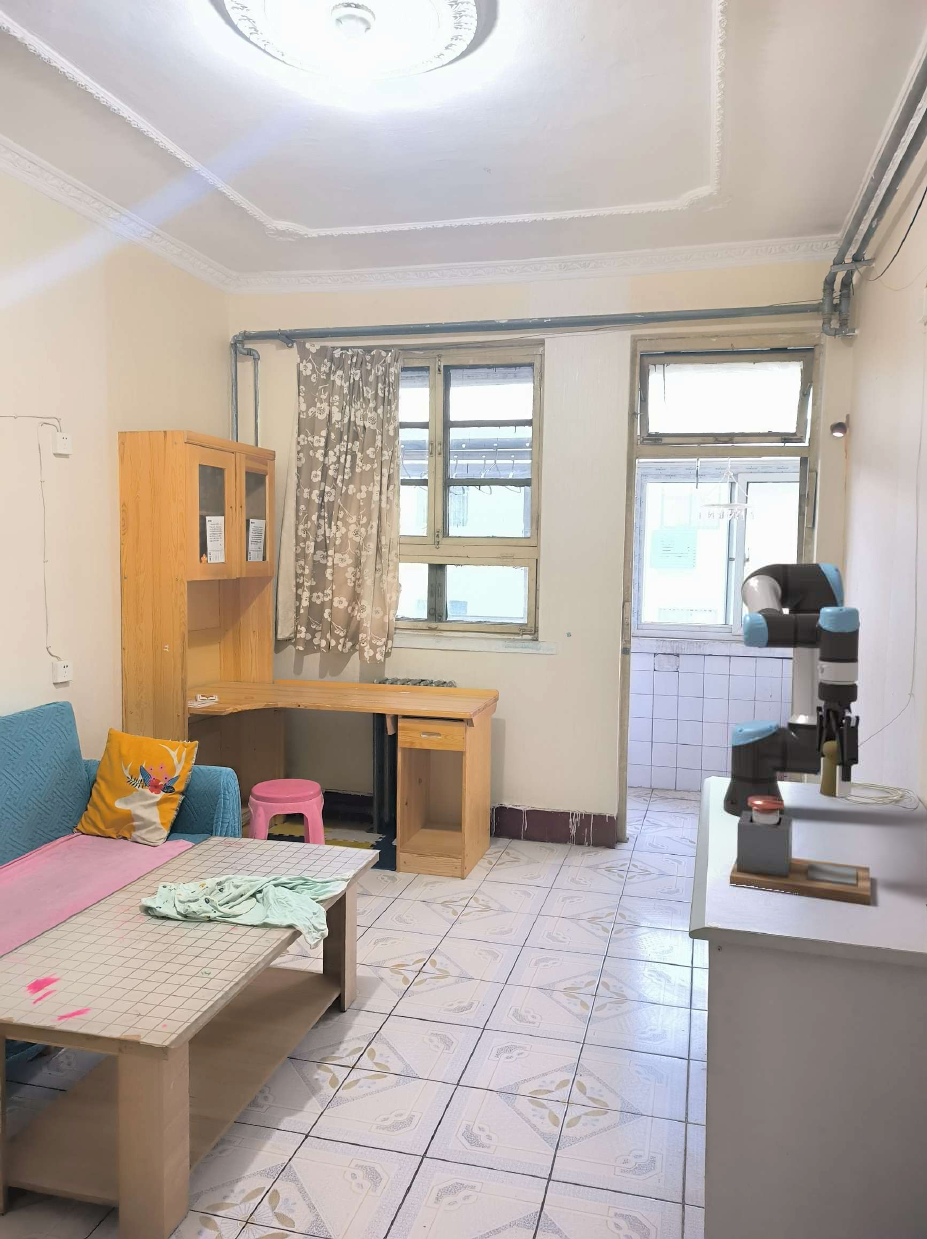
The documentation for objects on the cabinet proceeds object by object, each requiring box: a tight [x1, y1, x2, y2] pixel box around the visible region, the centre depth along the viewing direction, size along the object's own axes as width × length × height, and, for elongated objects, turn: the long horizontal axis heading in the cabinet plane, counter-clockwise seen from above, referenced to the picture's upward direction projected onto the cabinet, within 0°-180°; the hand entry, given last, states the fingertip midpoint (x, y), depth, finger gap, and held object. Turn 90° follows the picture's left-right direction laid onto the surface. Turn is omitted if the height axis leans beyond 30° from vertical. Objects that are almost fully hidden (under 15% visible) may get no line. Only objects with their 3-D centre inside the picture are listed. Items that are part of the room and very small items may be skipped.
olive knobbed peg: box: [819, 741, 847, 799], centre depth 183 cm, size 6×6×11 cm
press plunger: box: [748, 795, 785, 826], centre depth 183 cm, size 7×7×9 cm
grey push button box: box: [736, 811, 794, 878], centre depth 184 cm, size 10×10×10 cm
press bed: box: [729, 857, 872, 906], centre depth 181 cm, size 16×26×3 cm, turn 66°
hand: (835, 792), depth 183 cm, fingers closed on olive knobbed peg, 6 cm apart
